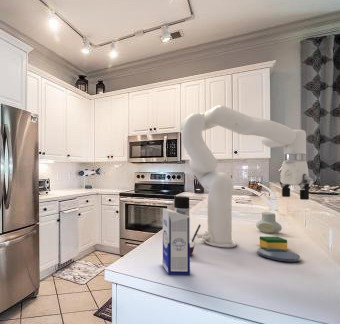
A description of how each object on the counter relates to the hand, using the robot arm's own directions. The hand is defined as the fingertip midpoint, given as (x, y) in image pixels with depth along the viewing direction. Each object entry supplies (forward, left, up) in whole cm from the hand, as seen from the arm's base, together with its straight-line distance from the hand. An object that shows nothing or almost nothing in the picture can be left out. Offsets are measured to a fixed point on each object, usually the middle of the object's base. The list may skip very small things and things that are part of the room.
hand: (294, 198), depth 108 cm
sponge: (-11, -2, -21) cm, 24 cm away
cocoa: (-51, -12, -21) cm, 56 cm away
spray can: (-46, +8, -21) cm, 51 cm away
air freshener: (+5, +24, -21) cm, 32 cm away
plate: (-17, -13, -21) cm, 30 cm away
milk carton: (-60, -27, -21) cm, 69 cm away
